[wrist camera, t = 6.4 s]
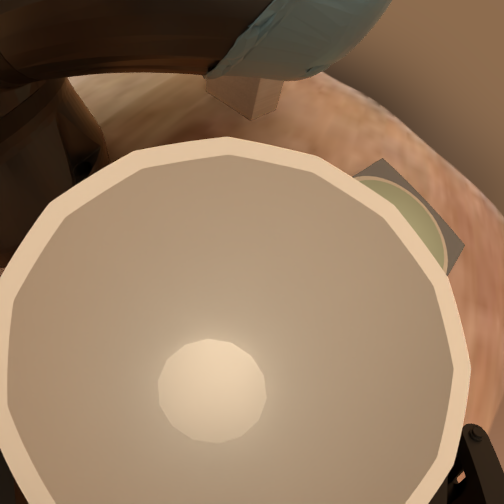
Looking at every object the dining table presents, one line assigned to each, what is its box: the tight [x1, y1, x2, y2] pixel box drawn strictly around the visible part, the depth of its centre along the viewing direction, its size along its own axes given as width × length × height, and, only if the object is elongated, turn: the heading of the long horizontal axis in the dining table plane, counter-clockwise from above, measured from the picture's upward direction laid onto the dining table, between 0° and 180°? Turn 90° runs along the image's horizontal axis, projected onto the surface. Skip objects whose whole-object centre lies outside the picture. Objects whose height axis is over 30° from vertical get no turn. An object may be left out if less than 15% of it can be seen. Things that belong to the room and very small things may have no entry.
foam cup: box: [0, 137, 471, 504], centre depth 10 cm, size 10×9×13 cm
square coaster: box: [353, 158, 465, 276], centre depth 23 cm, size 12×14×1 cm
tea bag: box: [206, 76, 284, 121], centre depth 24 cm, size 4×7×10 cm, turn 46°
